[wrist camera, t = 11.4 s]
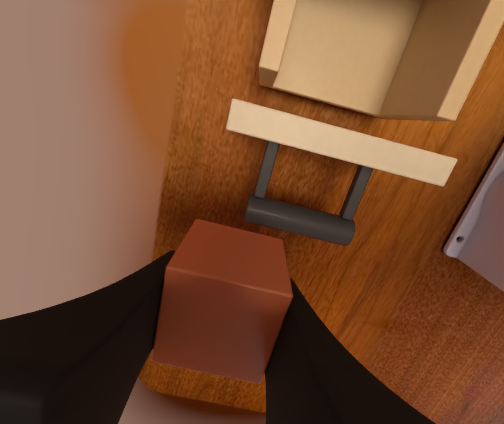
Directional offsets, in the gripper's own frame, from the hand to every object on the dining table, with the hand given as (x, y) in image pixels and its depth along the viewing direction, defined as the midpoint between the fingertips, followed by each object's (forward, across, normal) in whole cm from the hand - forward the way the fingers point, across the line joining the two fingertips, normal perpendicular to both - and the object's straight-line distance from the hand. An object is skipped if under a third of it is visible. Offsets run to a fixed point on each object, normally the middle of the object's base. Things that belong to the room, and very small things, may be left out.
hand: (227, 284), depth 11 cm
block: (+1, 0, 0) cm, 1 cm away
